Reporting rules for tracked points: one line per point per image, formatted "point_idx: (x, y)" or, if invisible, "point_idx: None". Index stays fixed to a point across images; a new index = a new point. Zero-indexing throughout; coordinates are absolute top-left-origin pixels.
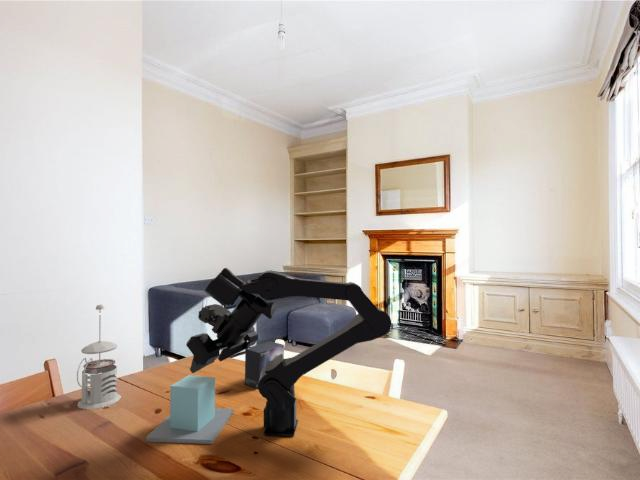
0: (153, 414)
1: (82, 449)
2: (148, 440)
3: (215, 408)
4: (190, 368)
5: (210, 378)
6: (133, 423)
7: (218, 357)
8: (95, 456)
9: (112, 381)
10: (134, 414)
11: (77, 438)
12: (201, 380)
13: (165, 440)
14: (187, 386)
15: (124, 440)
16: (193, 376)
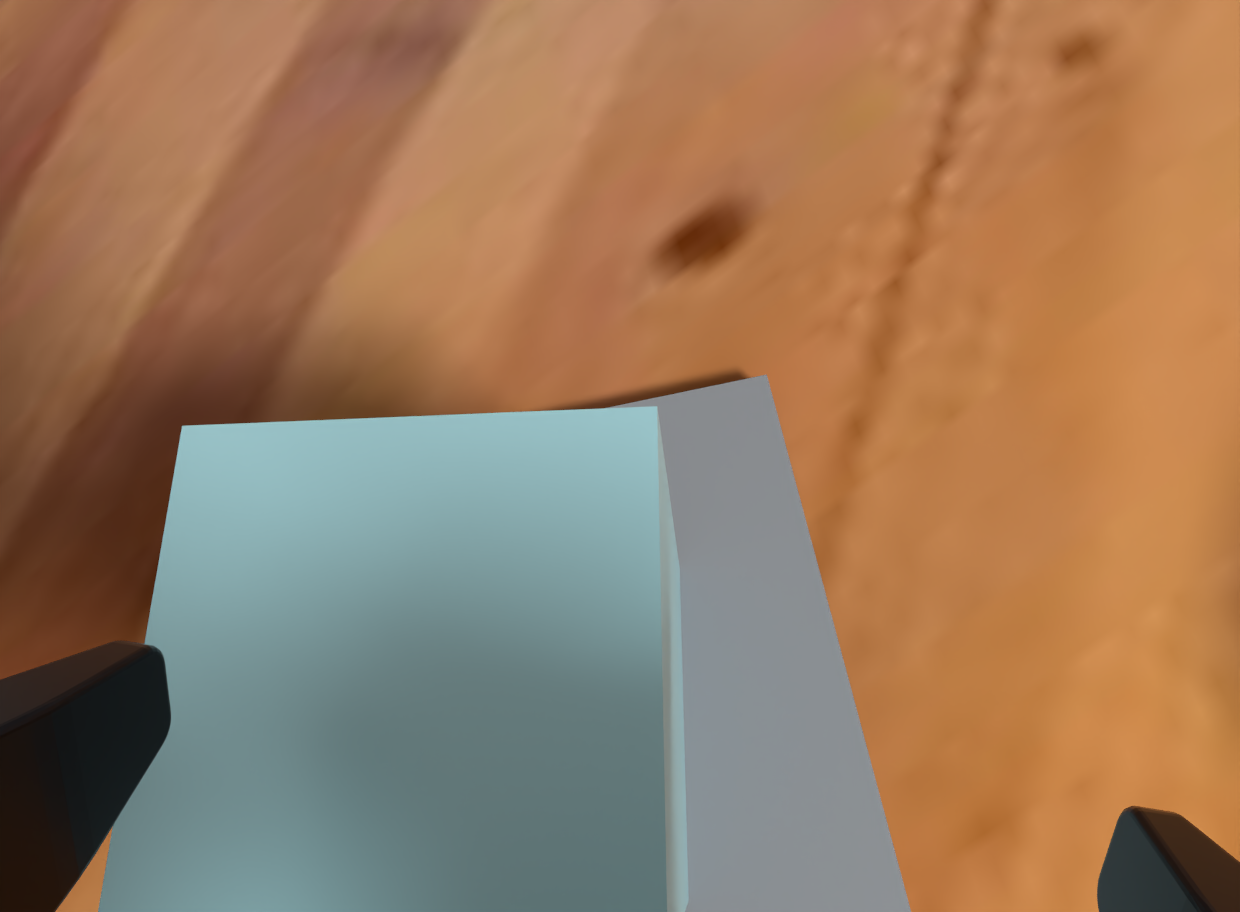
0: (632, 247)
1: (88, 179)
2: None
3: (871, 788)
4: (69, 665)
5: (602, 895)
6: (458, 214)
7: (1139, 829)
8: (12, 318)
9: None
10: (592, 117)
11: (209, 49)
12: (473, 775)
13: None
14: (180, 700)
15: (217, 339)
16: (615, 515)
